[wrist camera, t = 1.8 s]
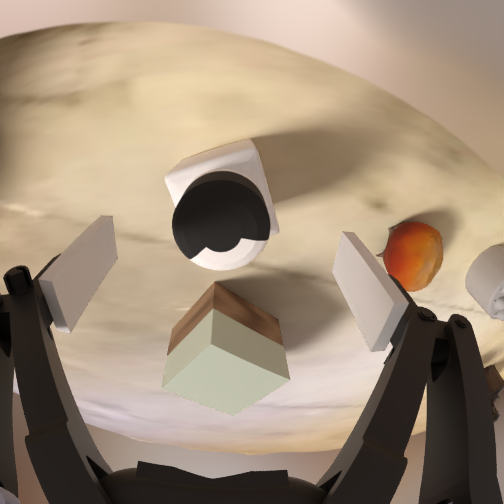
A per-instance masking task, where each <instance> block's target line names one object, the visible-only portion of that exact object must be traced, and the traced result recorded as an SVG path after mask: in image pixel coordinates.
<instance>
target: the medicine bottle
mask: <svg viewBox="0 0 504 504" xmlns="http://www.w3.org/2000/svg"><path fill="white" fill-rule="evenodd" d="M165 182H166V185H167V187H168V190H169V192H170V195H171V197H172V200H173V202H174V205H175V207H176V208H175V211H174V214H173V219H172V230H173V235H174V239H175V241H176V243H177V245H178V247H179V249H180V250H181V251H182V253H183V254H184V255H185V256H186V257H187V258H188V259H190V260H191V261H192V262H194V263H196V264H197V265H199V266H202V267H204V268H208V269H212V270H232V269H236V268H239V267H242V266H244V265H246V264H248V263H250V262H251V261H253V260H254V259H255V258H256V257H257V256H258V255H259V254H260V253H261V252H262V251H263V249H264V247H265V246H266V244H267V241H268V239H269V236H272V235H275V234H278V232H279V225H278V221H277V218H276V214H275V210H274V207H273V203H272V199H271V195H270V192H269V188H268V185H267V181H266V177H265V174H264V170H263V167H262V163H261V160H260V156H259V153H258V150H257V148H256V147H255V145H254V143H253V142H252V140H251V139H246V140H242V141H239V142H235V143H232V144H228V145H225V146H222V147H219V148H216V149H212V150H209V151H206V152H203V153H200V154H197V155H194V156H191V157H189V158H186V159H183V160H181V161H180V162H179V163H178V164H177V165H176V166H175V167H174V168H173V169H172V170H171V171H170V172H169V173H168V174H167V175H166V176H165Z"/></svg>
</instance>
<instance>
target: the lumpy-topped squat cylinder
mask: <svg viewBox="0 0 504 504" xmlns="http://www.w3.org/2000/svg"><path fill="white" fill-rule="evenodd" d="M465 284H466V289H467V291H468V292H469V294H470V295H471V296H472V297H473V298H474V299H475V300H476V301H477V303H478V304H479V305H480V306H481V307H482V308H483V309H484V311H485V312H486V313H487V314H488V315H489V316H490V317H491V318H492V319H499V320H501V321H503V320H504V246H500V245H494V246H491V247H489V248H488V249H486V250H485V251H484V252H482V253H481V254H480V255H479V256H478V257H477V258H476V259H475V261H474V262H473V263H472V264H471V266H470V268H469V270H468V272H467V275H466V280H465Z"/></svg>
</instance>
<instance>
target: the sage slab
mask: <svg viewBox="0 0 504 504" xmlns="http://www.w3.org/2000/svg"><path fill="white" fill-rule="evenodd" d="M289 380H290V376H289V371H288V365H287V360H286V355H285V350H284V346H282V345H280V344H278V343H276V342H274V341H272V340H270V339H268V338H267V337H265V336H263V335H261V334H259V333H257V332H255V331H253V330H251V329H250V328H248V327H246V326H244V325H242V324H240V323H239V322H237V321H235V320H233V319H231V318H230V317H228V316H226V315H224V314H223V313H221V312H219V311H217V310H216V309H214V308H213V309H212V310H211V311H210V312H209V313H208V314H207V315H206V316H205V317H204V318H203V320H202V321H201V322H200V323H199V324H198V325H197V326H196V327H195V328H194V329H193V330H192V331H191V332H190V333H189V334H188V335H187V336H186V337H185V338H184V339H183V340H182V341H181V342H180V343H179V344H178V345H177V347H176V348H175V349H174V350H173V351H172V352H171V353H170V354H169V355H168V356H167V361H166V366H165V372H164V377H163V382H162V389H164V390H167V391H169V392H171V393H174V394H176V395H178V396H181V397H183V398H186V399H188V400H191V401H193V402H196V403H199V404H201V405H204V406H207V407H210V408H212V409H215V410H218V411H221V412H224V413H227V414H230V415H233V416H234V415H235V414H237V413H239V412H240V411H242V410H244V409H246V408H247V407H249V406H251V405H252V404H254V403H255V402H257V401H259V400H260V399H262V398H263V397H265V396H267V395H268V394H270V393H271V392H273V391H274V390H276V389H277V388H279V387H280V386H282V385H283V384H285V383H286V382H288V381H289Z"/></svg>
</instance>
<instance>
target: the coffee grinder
mask: <svg viewBox="0 0 504 504" xmlns="http://www.w3.org/2000/svg"><path fill="white" fill-rule="evenodd" d="M484 372H485V376H486V381H487V386H488V391H489V396H490V402H491V408H492V415H493V423H494V422H496V421H497V419H498V417H499V416H500V415H499V413H498V411H497V410H496V408H495V406H494V402H496V401H497V399H498V398H499V394H500V392H501V391H502V390H503V389H504V380H503V379H502V377H501V376H500V374H499V373H498V371H497V370H496V368H495V366H494V365H493V366H490V367H487V368H485V369H484Z"/></svg>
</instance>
